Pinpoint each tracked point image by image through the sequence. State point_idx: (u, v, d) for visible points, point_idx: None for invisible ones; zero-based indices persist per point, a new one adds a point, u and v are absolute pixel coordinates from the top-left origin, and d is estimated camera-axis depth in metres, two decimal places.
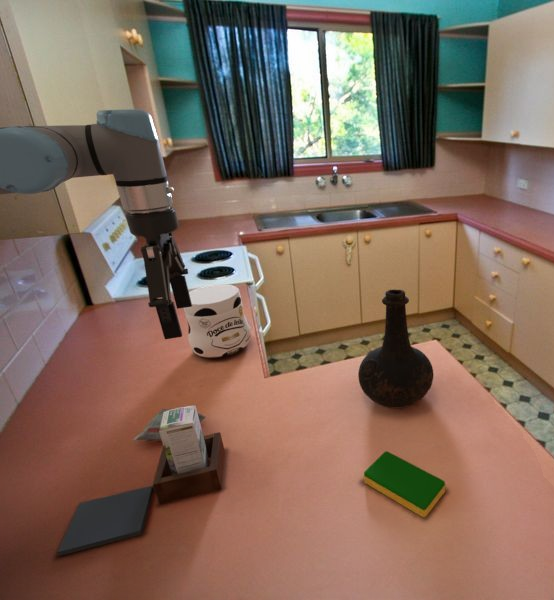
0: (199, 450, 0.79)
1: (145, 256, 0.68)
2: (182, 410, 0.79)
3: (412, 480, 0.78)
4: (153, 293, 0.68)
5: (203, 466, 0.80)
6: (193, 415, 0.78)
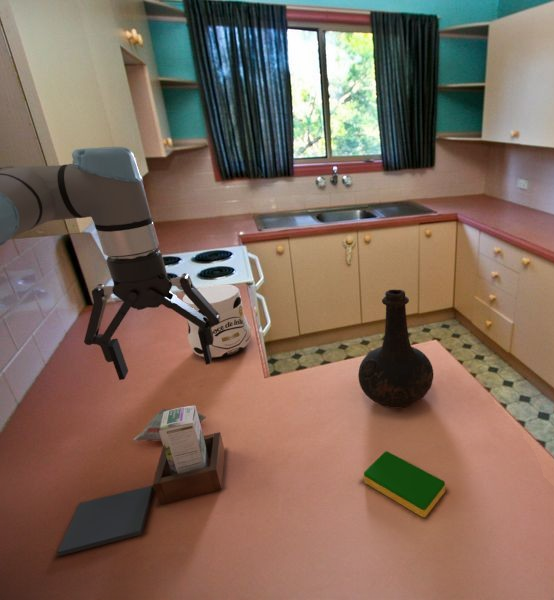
0: (199, 450, 0.79)
1: (189, 284, 0.70)
2: (182, 410, 0.79)
3: (412, 480, 0.78)
4: (213, 312, 0.73)
5: (203, 466, 0.80)
6: (193, 415, 0.78)
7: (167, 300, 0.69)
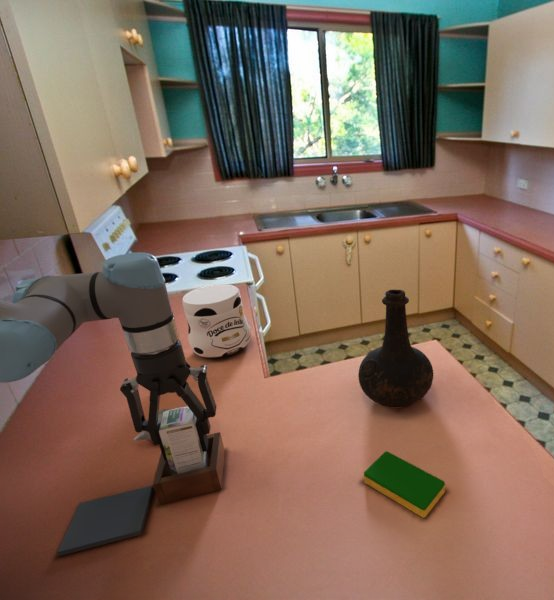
0: (199, 450, 0.79)
1: (205, 378, 0.76)
2: (182, 410, 0.79)
3: (412, 480, 0.78)
4: (213, 405, 0.78)
5: (203, 466, 0.80)
6: (193, 415, 0.78)
7: (182, 390, 0.74)
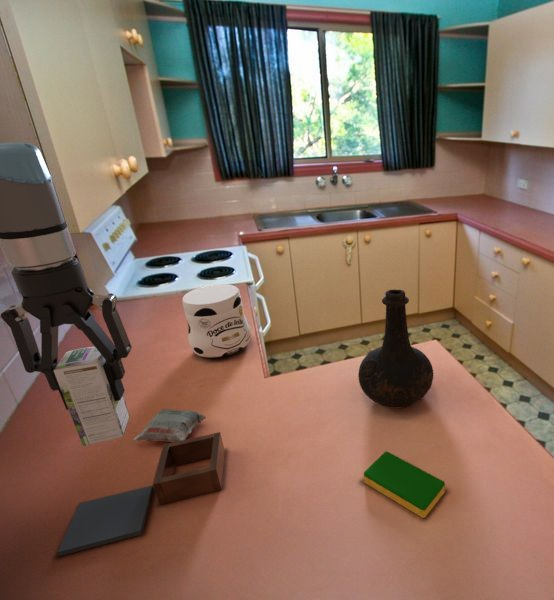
0: (108, 397, 0.66)
1: (112, 308, 0.63)
2: (88, 350, 0.66)
3: (412, 480, 0.78)
4: (125, 343, 0.65)
5: (115, 417, 0.67)
6: (100, 355, 0.65)
7: (81, 321, 0.61)
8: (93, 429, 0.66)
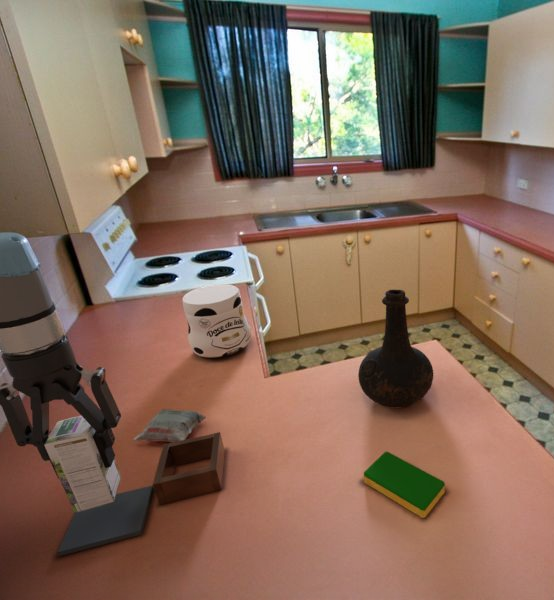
0: (98, 466, 0.67)
1: (101, 382, 0.64)
2: (79, 419, 0.68)
3: (412, 480, 0.78)
4: (114, 413, 0.67)
5: (105, 484, 0.69)
6: (90, 425, 0.67)
7: (71, 397, 0.63)
8: (84, 496, 0.68)
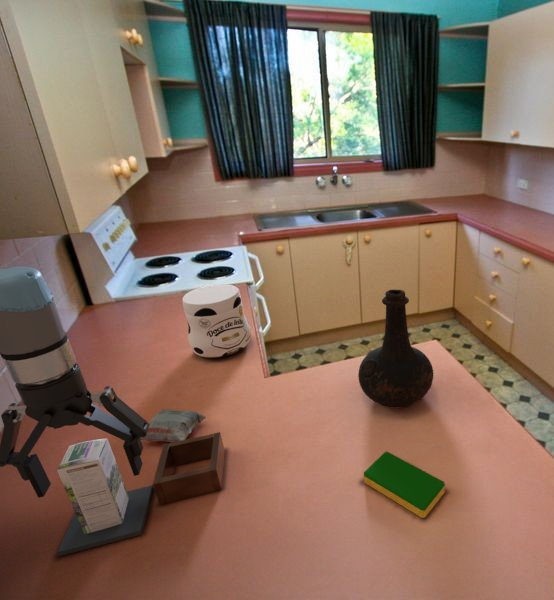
0: (108, 490, 0.69)
1: (111, 400, 0.66)
2: (90, 444, 0.70)
3: (412, 481, 0.78)
4: (139, 424, 0.69)
5: (115, 507, 0.71)
6: (101, 450, 0.69)
7: (86, 418, 0.65)
8: (94, 518, 0.70)
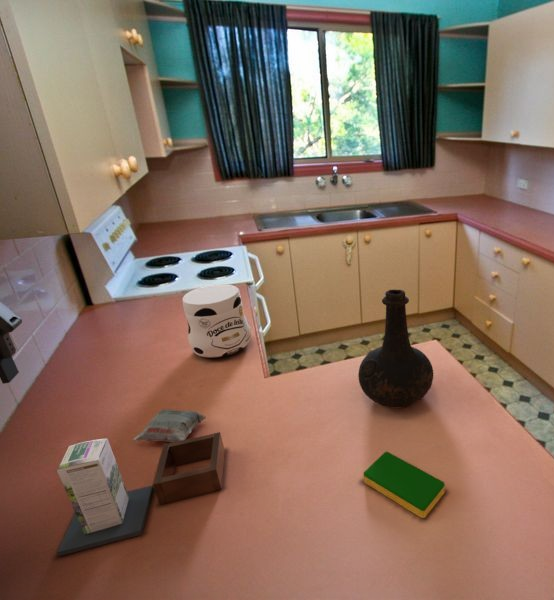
0: (108, 490, 0.69)
1: None
2: (90, 444, 0.70)
3: (412, 481, 0.77)
4: (4, 315, 0.56)
5: (115, 507, 0.71)
6: (101, 450, 0.69)
7: None
8: (94, 518, 0.70)
